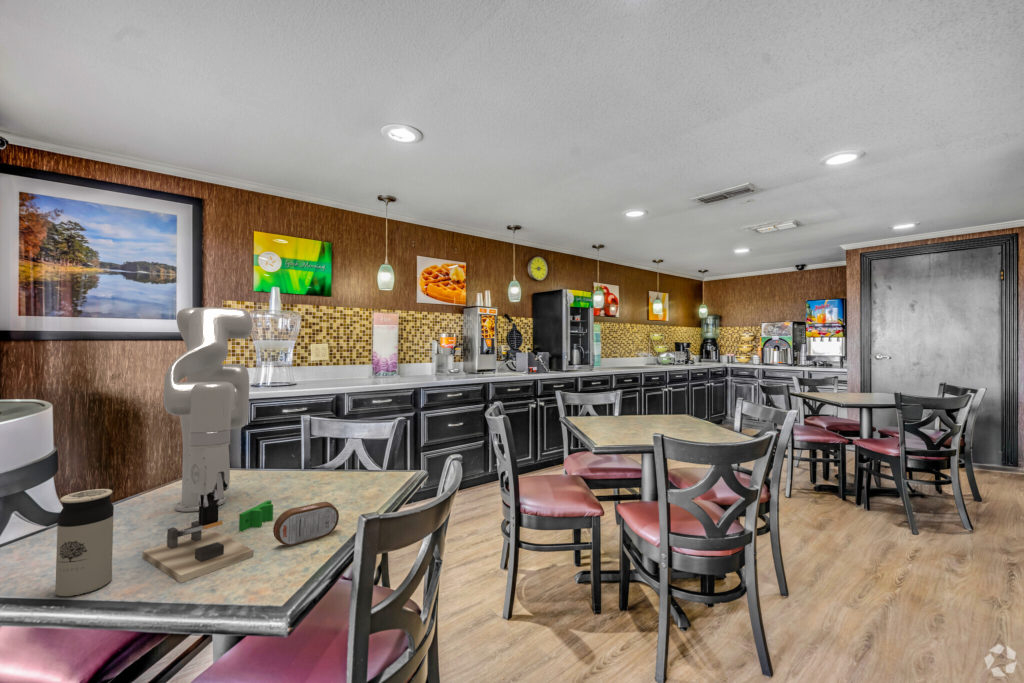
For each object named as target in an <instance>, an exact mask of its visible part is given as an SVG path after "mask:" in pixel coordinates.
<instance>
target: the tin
mask: <svg viewBox="0 0 1024 683" xmlns="http://www.w3.org/2000/svg"><path fill="white" fill-rule="evenodd" d="M339 514H340V513H339V510H338V509H337V508H336V507H335V506H334V504H333V503H331V502H328V501H321V502H316V503H311V504H307V505H302V506H301V505H300V506H298V507H293V508H289V509H287V510H285V511H284V512H282V513H281V514H280V515H279V516H278V517H277V519H275V522H274V525H273V527H272V529H273V530H272V532H273V537H274V538H275V540H276V541H278V542H279V543H280V544H281V545H284V546H286V547H287V546H289V547H292V546H296V544H297V545H300V544H303V543H307V542H311V541H314V540H318V539H321V538H325V537H327V536H329V535H330V534H331V533H333V532H334V531H335V529H336V528H337V526H338V523H339V519H340V515H339Z"/></svg>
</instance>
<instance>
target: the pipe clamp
mask: <svg viewBox="0 0 1024 683" xmlns="http://www.w3.org/2000/svg"><path fill="white" fill-rule="evenodd" d="M238 518H239V519H238V532H245V531H247V530H248V529H250V528H259V527H260V528H262V527H263V523H266V522H265V521H267V522H272V521H274V504H273V503H272V500H271V499H270V500H269V499H267V500H265V501H264V502H261V503H260V504H258V505H256V506H254V507H251V508H249V509H247V510H245V511H243V512H241V513H239V515H238ZM262 522H263V523H262ZM261 526H262V527H261ZM246 529H247V530H246ZM244 530H245V531H244Z"/></svg>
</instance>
